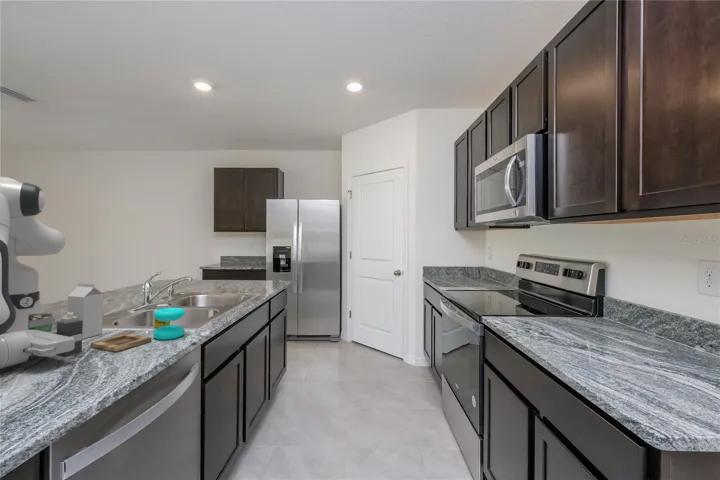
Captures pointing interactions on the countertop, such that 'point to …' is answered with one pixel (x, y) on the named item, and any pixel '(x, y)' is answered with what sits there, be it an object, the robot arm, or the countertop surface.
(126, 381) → the countertop surface
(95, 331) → the milk carton
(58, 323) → the plug
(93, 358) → the countertop surface
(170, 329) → the donuts
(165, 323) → the supplement bottle
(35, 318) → the food container
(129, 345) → the wooden tray
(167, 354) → the countertop surface
